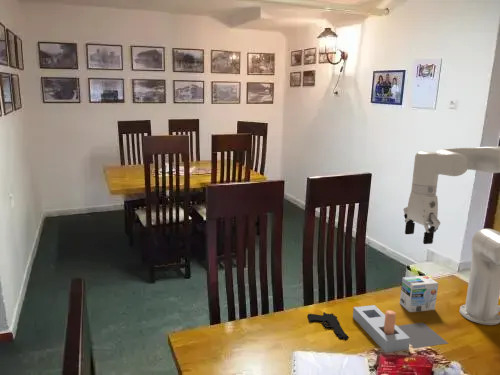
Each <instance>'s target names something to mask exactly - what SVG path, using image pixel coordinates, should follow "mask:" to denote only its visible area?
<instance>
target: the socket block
mask: <svg viewBox="0 0 500 375" xmlns="http://www.w3.org/2000/svg"><path fill="white" fill-rule="evenodd" d="M352 319H354V320H355V321H356V322H357V323H358V325H359V326H360V328H362V329H363V330H364V331H365V332H366V333H367V334H368V335H369V337H370V338H371V339H372V340H373V341H374V342H375V343H376V345H378V346H379V348H381V350H382V351H383V352H384V353H389V352H390V353H392V352H398V351H405V350H410V345H411V344H410V337H409V336H407V335H406V334H405V333H404V332H403V331H402V330H401V329H400V328H399V327H398V326H399V325H397V324H396V323H395V328H394V334H392V335H386V334H385V333H384V323H385V313H384V312H382V311H381V310H380V309H379V308H378V306H376V305H375V304H373V305H363V306H362V305H361V306H353V310H352Z"/></svg>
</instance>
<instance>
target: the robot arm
mask: <svg viewBox="0 0 500 375" xmlns="http://www.w3.org/2000/svg"><path fill="white" fill-rule="evenodd" d="M469 170H471V171H476V172H483V173H491V174H499V173H500V145H499V146H481V147H480V146H479V147H458V148H457V147H454V148H443V149H439V150H437V151H435V152H434V151H428V150H427V151H422V150H421V151H418V152H416V154H415V156H414V162H413V170H412V171H413V173H412V182H411V189H410V190H411V191H410V193H409V198H408V204H407V206H406V207H404V208H403V214H404V215H403V216H404V222H405V230H404V234H405V235H414V233H415V225H416V224H415V223H417V224H418V225H422V226H423V227H424V230H425V231H424V233H423V241H422V244H424V245H431V244H433V243H434V235H435V233H436V231H437V230H438V229H439V227H440V226H441V221H440V220H439V219H438V215H439V212H438V210H439V203H438V202H439V200H438V195H437V188H438V181H439V175H442V176H443V175H444V176H448V177H459V176H462V175H464V174H465V173H467V171H469ZM470 246H471V263H470V264H471V265H470V273H469V278H468V284H467V291H466V297H465V304H462V305H460V307H459V314H460V315H461V316H463V318H465V319H467V320H469V321H471V322H473V323H477V324H479V325H486V326H495V325H499V324H500V314H499V313H500V305H499V298H500V231H498V230H495V229H492V228H482V229H479V230H478V231H476V232H475V233H474V235H473V236H472V239H471V245H470Z"/></svg>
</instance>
